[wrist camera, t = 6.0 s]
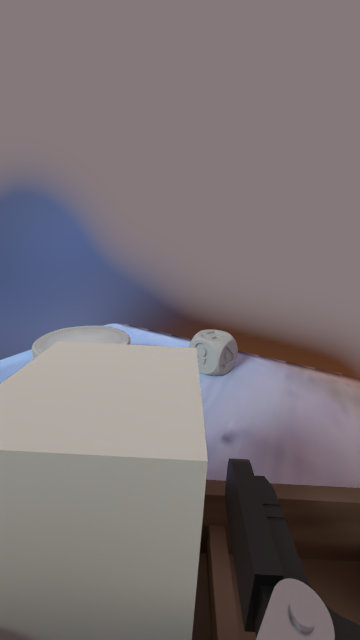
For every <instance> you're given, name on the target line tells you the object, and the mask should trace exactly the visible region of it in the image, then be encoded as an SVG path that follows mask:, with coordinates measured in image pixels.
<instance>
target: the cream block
mask: <svg viewBox="0 0 360 640" xmlns="http://www.w3.org/2000/svg"><path fill="white" fill-rule="evenodd" d="M207 464H208V459H207V448H206V438H205V428H204V418H203V408H202V398H201V388H200V378H199V368H198V358H197V348H189V347H168V346H147V345H126V344H105V343H85V342H64V341H58V342H56V343H55V344H54V345H52V346H51V347H50V348H48V349H47V350H45V351H44V352H43V353H41V354H40V355H39V356H37V357H36V358H35V359H33V360H32V361H31V362H29V363H28V364H26V365H25V366H24V367H22V368H21V369H20V370H18V371H17V372H16V373H14V374H13V375H12V376H10V377H9V378H7V379H6V380H5V381H3V382H2V383H1V384H0V640H192V632H193V621H194V609H195V598H196V587H197V576H198V565H199V553H200V542H201V531H202V520H203V509H204V498H205V486H206V475H207Z"/></svg>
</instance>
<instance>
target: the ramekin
mask: <svg viewBox="0 0 360 640" xmlns="http://www.w3.org/2000/svg"><path fill="white" fill-rule="evenodd" d="M58 341H64V342H85V343H105V344H126V345H130V337H129V335H128V334H127V333H126V332H124V331H122V330H120V329H117V328H112V327H106V326H79V327H70V328H64V329H60V330H56V331H53V332H51V333H48V334H46V335H44V336H42V337H40V338H39V339H37V340H36V341H35V342H34V344H33V346H32V354H33V357H34V359H35V358H36V357H37V356H39V355H40V354H41V353H43V352H44V351H45V350H47V349H48V348H50V347H51V346H52V345H54V344H55V343H56V342H58Z"/></svg>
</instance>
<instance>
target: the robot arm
mask: <svg viewBox="0 0 360 640" xmlns="http://www.w3.org/2000/svg"><path fill="white" fill-rule="evenodd" d="M225 504H226V512H227V519H228V525H229V532H230V539H231V545H232V552H233V558H234V565H235V572H236V578H237V585H238V592H239V598H240V605H241V612H242V618H243V625H244V631H246V632H255V635H256V640H360V625H359V624H357V623H355V622H353V621H350V620H348V619H346V618H344V617H342V616H340V615H338V614H337V613H335V612H334V611H333V610H331V609H330V608H329V607H328V606H327V605H326V604H325V603H324V602H323V601H322V600H321V598H320V597H319V596H318V595H317V594H316V593H315V591H314V590H313V589H312V587H311V585H310V584H309V582H308V580H307V577H306V575H305V572H304V570H303V567H302V564H301V561H300V559H299V556H298V553H297V550H296V548H295V545H294V542H293V539H292V536H291V534H290V531H289V528H288V525H287V523H286V521H285V517H284V514H283V512H282V509H281V508H280V503H279V501H278V498H277V495H276V492H275V490H274V488H273V487H272V486H271V484H270V483H269V482H268V480H267V479H266V478H265V477H264V476H254V473H253V470H252V466H251V463H250V461H249V460H246V459H229V461H228V469H227V478H226V486H225Z"/></svg>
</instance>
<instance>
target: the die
mask: <svg viewBox="0 0 360 640" xmlns="http://www.w3.org/2000/svg"><path fill="white" fill-rule="evenodd" d="M189 348H197V358H198V368H199V372H200V373H202V374H205V375H210V376H221V375H224V374H226V373H228V372H229V371H230V370H231V368H232V367H233V365H234V363H235V360H236V357H237V344H236V341H235V340H234V338H233V337H232V336H231V335H230V334H229V333H227V332H224V331H219V330H202V331H200V332H198V333H197V334H196V335H195V336H194V337H193V339H192V341H191V343H190V346H189Z"/></svg>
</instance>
